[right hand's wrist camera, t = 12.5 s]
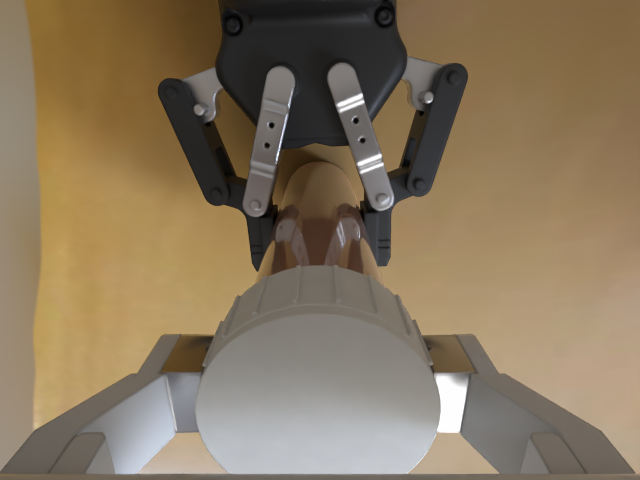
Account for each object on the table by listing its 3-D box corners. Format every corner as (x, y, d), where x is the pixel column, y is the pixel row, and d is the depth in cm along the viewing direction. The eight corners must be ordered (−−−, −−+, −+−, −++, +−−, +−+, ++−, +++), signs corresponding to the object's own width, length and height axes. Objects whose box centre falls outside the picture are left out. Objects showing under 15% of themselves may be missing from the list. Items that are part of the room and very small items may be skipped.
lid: (440, 401, 11) (468, 474, 9) (263, 448, 12) (251, 526, 10) (388, 233, 9) (409, 276, 7) (181, 300, 10) (144, 357, 8)
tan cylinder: (361, 214, 27) (436, 448, 10) (299, 234, 27) (264, 490, 10) (341, 151, 25) (385, 294, 8) (276, 174, 26) (185, 354, 8)
